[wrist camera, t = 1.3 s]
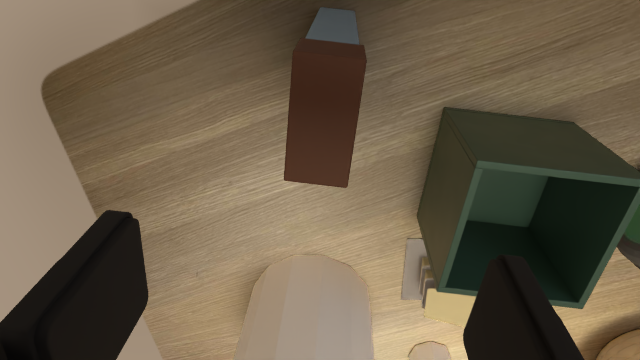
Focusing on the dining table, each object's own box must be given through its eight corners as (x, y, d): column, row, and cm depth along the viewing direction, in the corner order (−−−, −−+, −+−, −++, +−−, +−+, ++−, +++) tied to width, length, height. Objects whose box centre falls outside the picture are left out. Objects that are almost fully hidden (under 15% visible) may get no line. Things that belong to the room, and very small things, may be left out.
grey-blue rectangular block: (320, 6, 36) (304, 37, 23) (355, 10, 36) (359, 44, 23) (312, 87, 39) (294, 154, 26) (344, 91, 39) (343, 160, 26)
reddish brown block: (300, 37, 23) (292, 50, 20) (364, 44, 23) (367, 59, 20) (291, 154, 26) (283, 181, 23) (347, 160, 26) (347, 188, 23)
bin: (443, 106, 40) (477, 160, 29) (573, 122, 40) (652, 180, 29) (416, 215, 45) (436, 292, 35) (529, 229, 45) (582, 309, 35)
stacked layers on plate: (400, 299, 51) (406, 335, 46) (407, 238, 47) (414, 271, 42) (485, 301, 51) (500, 338, 46) (500, 240, 46) (517, 274, 41)
